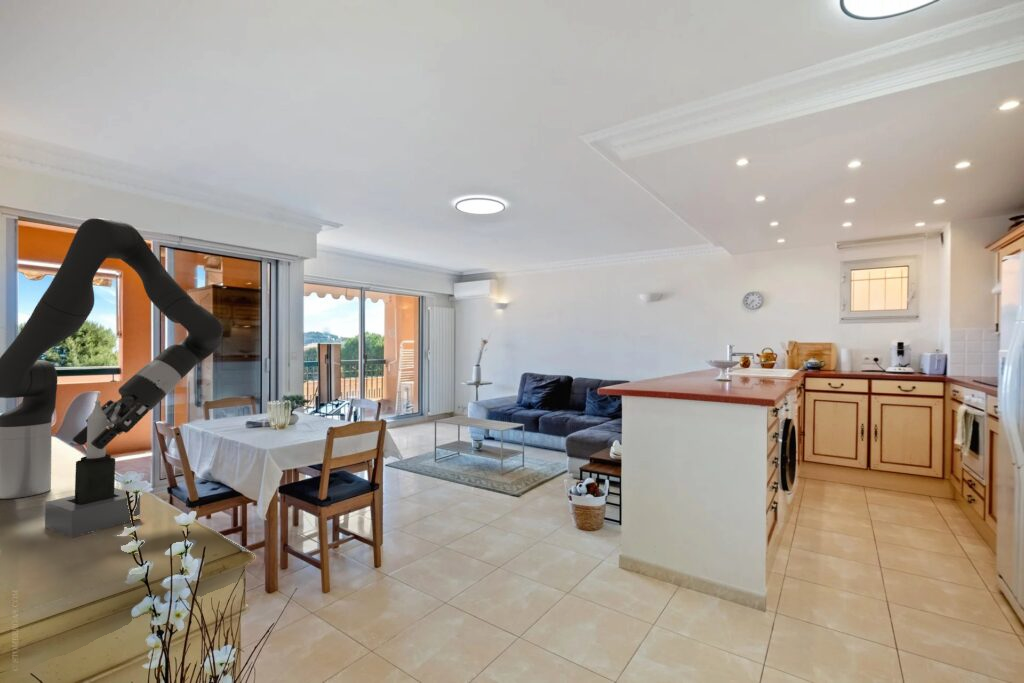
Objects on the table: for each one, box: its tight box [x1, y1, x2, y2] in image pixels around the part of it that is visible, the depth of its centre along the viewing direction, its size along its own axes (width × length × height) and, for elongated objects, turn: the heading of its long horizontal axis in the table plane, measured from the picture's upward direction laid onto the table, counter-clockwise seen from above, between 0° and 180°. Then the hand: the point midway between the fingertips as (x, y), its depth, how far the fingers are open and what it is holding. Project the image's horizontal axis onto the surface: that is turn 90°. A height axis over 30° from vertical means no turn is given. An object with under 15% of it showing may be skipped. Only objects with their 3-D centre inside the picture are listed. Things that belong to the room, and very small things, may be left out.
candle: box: [74, 400, 116, 505], centre depth 96 cm, size 5×5×25 cm
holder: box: [44, 487, 141, 538], centre depth 95 cm, size 12×11×5 cm
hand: (85, 444), depth 94 cm, fingers open, 8 cm apart
